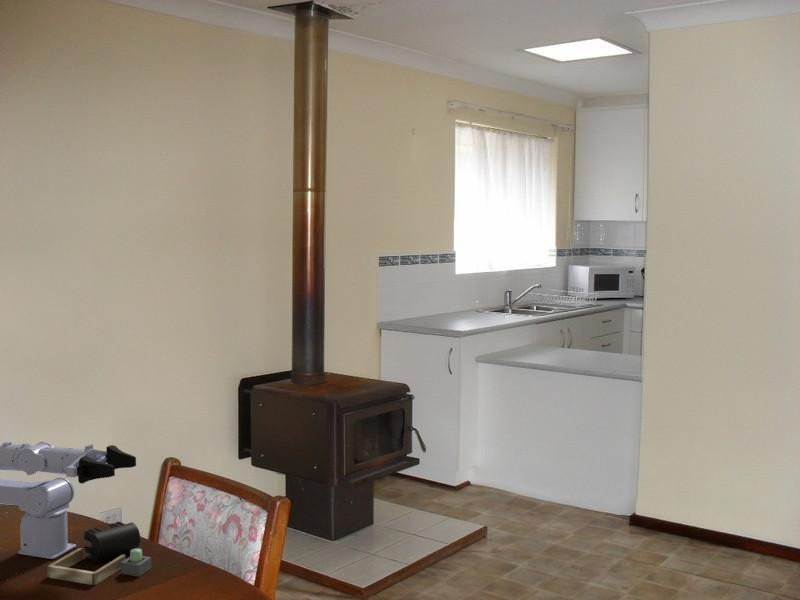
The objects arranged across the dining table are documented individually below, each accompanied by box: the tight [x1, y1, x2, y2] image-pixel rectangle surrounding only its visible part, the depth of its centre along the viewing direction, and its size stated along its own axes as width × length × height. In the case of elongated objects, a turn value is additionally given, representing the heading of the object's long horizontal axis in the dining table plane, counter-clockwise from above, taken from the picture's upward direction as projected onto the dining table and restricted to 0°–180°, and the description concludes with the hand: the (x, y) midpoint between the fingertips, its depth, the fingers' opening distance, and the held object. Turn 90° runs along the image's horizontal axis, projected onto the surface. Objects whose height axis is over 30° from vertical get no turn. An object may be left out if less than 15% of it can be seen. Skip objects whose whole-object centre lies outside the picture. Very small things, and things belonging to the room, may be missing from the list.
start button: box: [129, 547, 143, 563], centre depth 181 cm, size 2×2×3 cm
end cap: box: [83, 521, 141, 564], centre depth 189 cm, size 10×7×7 cm
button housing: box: [120, 555, 152, 578], centre depth 182 cm, size 4×4×2 cm
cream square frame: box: [46, 547, 127, 586], centre depth 181 cm, size 12×10×2 cm
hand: (124, 466), depth 184 cm, fingers open, 7 cm apart
